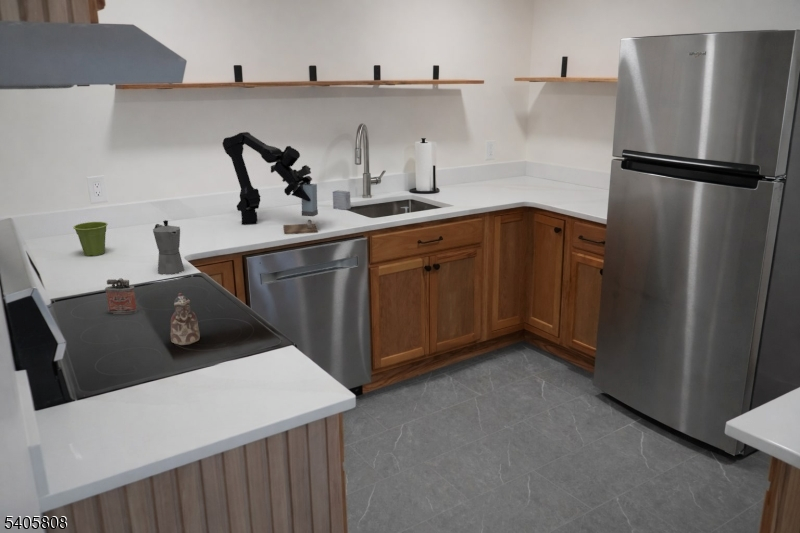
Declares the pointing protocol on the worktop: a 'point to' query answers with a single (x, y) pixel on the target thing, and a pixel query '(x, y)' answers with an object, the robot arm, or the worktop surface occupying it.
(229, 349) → the worktop surface
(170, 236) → the coffeepot
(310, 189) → the sleeve
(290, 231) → the pin board
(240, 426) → the worktop surface
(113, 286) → the lighter
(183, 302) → the figurine
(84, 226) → the plant pot
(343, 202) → the medicine box
